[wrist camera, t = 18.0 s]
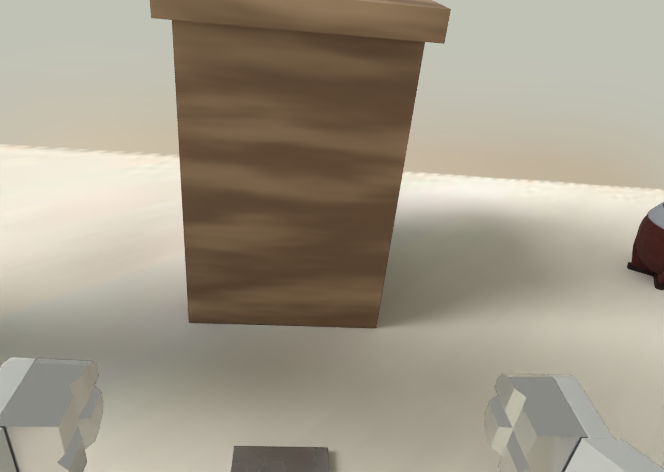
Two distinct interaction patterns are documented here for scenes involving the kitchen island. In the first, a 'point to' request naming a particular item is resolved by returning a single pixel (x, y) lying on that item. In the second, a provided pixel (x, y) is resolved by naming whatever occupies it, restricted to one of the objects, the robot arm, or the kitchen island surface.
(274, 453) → the brass handle with plate
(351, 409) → the kitchen island surface
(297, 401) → the kitchen island surface
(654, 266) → the mate gourd
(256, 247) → the lidded wooden box
